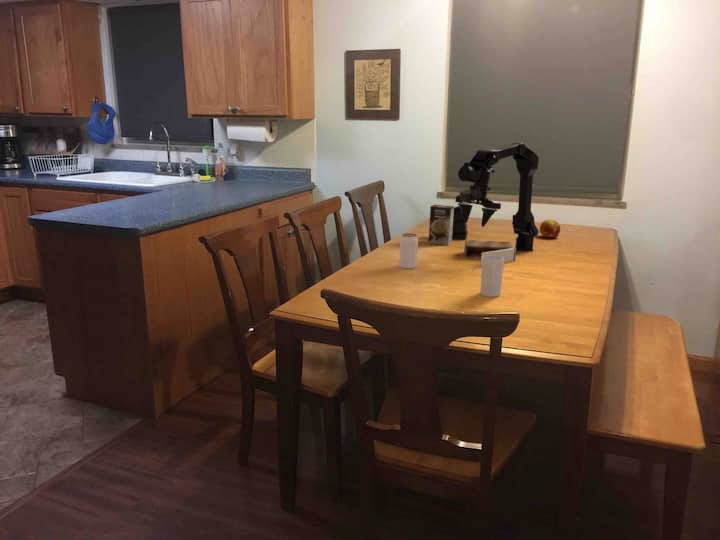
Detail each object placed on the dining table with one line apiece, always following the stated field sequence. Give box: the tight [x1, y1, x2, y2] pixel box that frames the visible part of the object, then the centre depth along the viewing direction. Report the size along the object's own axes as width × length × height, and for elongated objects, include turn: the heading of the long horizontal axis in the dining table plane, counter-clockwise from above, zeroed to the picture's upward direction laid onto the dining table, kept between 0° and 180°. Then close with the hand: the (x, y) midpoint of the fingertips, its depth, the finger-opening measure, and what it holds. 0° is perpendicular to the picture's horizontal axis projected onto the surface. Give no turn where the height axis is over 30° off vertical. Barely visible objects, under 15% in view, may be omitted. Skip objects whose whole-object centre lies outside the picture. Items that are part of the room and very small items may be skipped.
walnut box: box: [464, 239, 514, 260], centre depth 241 cm, size 18×10×5 cm, turn 82°
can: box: [398, 232, 419, 270], centre depth 222 cm, size 6×6×12 cm
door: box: [480, 247, 517, 267], centre depth 230 cm, size 17×2×5 cm, turn 122°
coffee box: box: [428, 204, 455, 246], centre depth 261 cm, size 9×6×16 cm
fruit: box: [539, 219, 561, 239], centre depth 277 cm, size 10×9×8 cm
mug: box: [479, 255, 505, 298], centre depth 190 cm, size 10×7×12 cm, turn 170°
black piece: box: [452, 205, 469, 241], centre depth 272 cm, size 4×13×15 cm, turn 66°
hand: (473, 224), depth 231 cm, fingers open, 9 cm apart
